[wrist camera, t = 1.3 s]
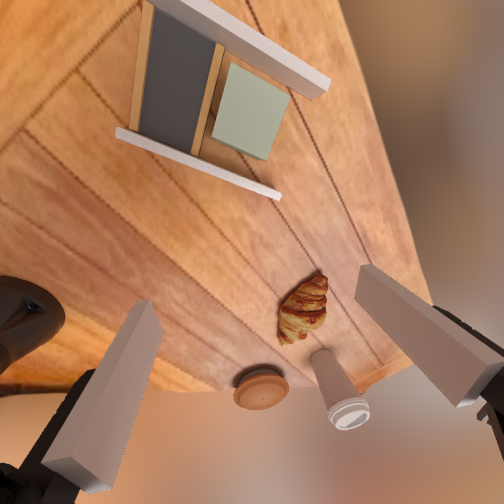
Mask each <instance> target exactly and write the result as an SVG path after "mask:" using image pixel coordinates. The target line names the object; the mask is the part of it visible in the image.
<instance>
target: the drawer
mask: <svg viewBox="0 0 504 504" xmlns="http://www.w3.org/2000/svg"><path fill="white" fill-rule="evenodd" d="M224 50H225V47H224V46H222V45H220V44H219V43H217V42H216V44H214V43H212V42H211V41H209V40H207V39H206V38H204V37H202V36H201V35H199V34H197V33H195V32H194V31H192V30H190V29H189V28H187V27H185V26H183V25H182V24H180V23H178V22H177V21H175V20H173V19H172V18H170V17H168V16H166V15H165V14H163V13H161V12H160V11H158V10H156V9H155V7H154V5H152V4H151V3H149V2H147V1H146V0H143V8H142V17H141V26H140V34H139V43H138V52H137V60H136V69H135V78H134V86H133V95H132V104H131V112H130V121H129V129H132V130H134V131H137V132H140V133H142V134H144V135H147V136H149V137H152V138H154V139H157V140H159V141H162V142H164V143H166V144H169V145H171V146H174V147H176V148H179V149H181V150H184V151H186V152H189V153H191V154H193V155H195V156H199V152H200V148H201V144H202V140H203V136H204V132H205V128H206V124H207V120H208V116H209V112H210V108H211V104H212V100H213V96H214V92H215V88H216V84H217V80H218V76H219V72H220V68H221V64H222V60H223V56H224Z"/></svg>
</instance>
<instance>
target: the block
mask: <svg viewBox="0 0 504 504" xmlns="http://www.w3.org/2000/svg"><path fill="white" fill-rule="evenodd" d="M290 97H291V96H290V95H288V94H287V93H285V92H283V91H281V90H280V89H278V88H276V87H274V86H273V85H271V84H269V83H267V82H266V81H264V80H262V79H261V78H259V77H257V76H255V75H254V74H252V73H250V72H248V71H247V70H245V69H243V68H241V67H240V66H238V65H236V64H234V63H233V62H231V64H230V68H229V72H228V76H227V80H226V83H225V87H224V91H223V95H222V99H221V102H220V106H219V110H218V114H217V117H216V121H215V125H214V129H213V133H212V138H213V140H214V141H216V142H218V143H220V144H222V145H225V146H227V147H229V148H231V149H234V150H236V151H238V152H240V153H243V154H245V155H247V156H249V157H252V158H254V159H256V160H263V161H267V158H268V156H269V153H270V150H271V148H272V145H273V142H274V140H275V137H276V134H277V132H278V129H279V126H280V124H281V121H282V118H283V116H284V113H285V111H286V108H287V105H288V103H289V100H290Z"/></svg>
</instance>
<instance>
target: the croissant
mask: <svg viewBox="0 0 504 504" xmlns="http://www.w3.org/2000/svg"><path fill="white" fill-rule="evenodd" d="M327 280H328V278H327V277H326V276H324V275H319V276H316V277H315V278H314V279H312V280H311V281H309V282H306V283H304V284H302V285H301V286H299V288H298V289H297V290H296V291H294V292H293V293H291V295H290V296H289V297H288V299H287V301H286V302H284V304H283V305H282V306H281V308H280V310H279V311H280V312H279V316H278V319H279V321H280V322H279V334H278V341H279V344H280V345H281V346H283V345H284V344H292V343H293V342H294V341H295V340H300V339H305V338H306V337H307V331H313V330H315V329H317V328H318V327H320V326H322V324H323V321H324V319H325V317H326V307H325V305H326V302H327V299H326V296H325V294H326V293H327V290H328V285H327Z"/></svg>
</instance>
